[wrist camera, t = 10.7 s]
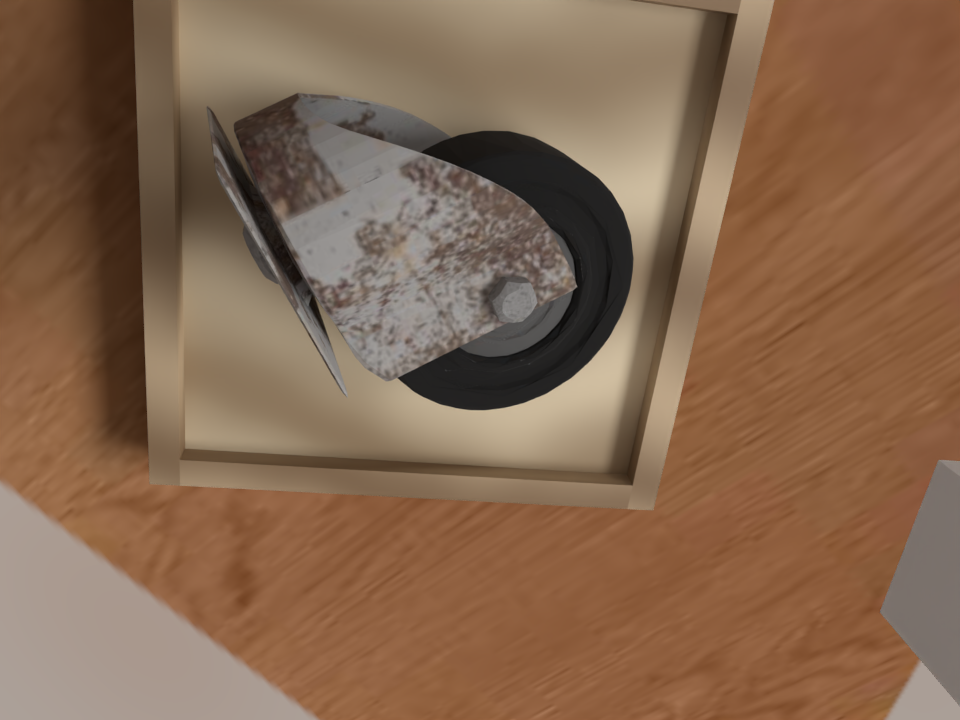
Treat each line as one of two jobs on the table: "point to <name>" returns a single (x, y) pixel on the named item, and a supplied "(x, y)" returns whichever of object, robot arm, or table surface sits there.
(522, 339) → the caster wheel
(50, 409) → the table surface
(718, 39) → the parts tray
